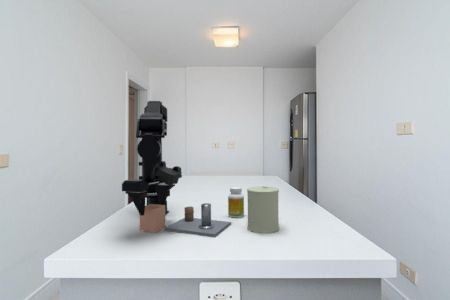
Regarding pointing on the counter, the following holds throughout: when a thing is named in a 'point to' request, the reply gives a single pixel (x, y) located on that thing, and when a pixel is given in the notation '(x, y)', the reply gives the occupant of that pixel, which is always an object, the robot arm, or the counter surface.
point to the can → (263, 209)
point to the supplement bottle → (236, 203)
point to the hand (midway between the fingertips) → (152, 211)
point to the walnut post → (189, 214)
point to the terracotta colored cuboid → (153, 218)
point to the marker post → (206, 216)
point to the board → (194, 227)
